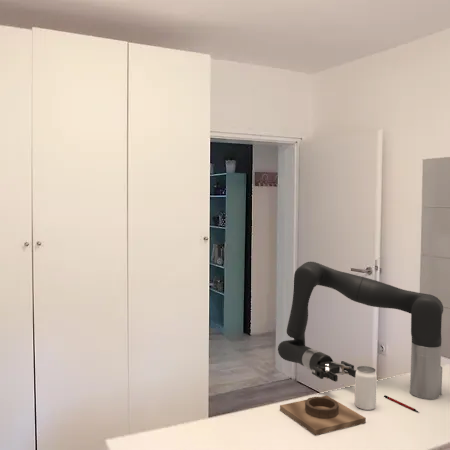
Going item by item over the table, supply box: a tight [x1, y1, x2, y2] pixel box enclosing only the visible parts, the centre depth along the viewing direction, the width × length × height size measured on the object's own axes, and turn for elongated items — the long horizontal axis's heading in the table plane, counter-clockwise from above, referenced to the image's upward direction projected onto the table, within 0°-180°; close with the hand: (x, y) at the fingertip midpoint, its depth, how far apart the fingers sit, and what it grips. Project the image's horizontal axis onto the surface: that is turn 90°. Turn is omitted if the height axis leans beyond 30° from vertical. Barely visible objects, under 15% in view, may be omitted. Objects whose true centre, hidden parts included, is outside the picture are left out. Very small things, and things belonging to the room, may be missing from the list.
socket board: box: [279, 395, 367, 436], centre depth 148 cm, size 18×18×4 cm
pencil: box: [383, 394, 419, 413], centre depth 158 cm, size 1×14×1 cm, turn 29°
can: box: [354, 365, 378, 411], centre depth 156 cm, size 6×6×12 cm
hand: (347, 376), depth 164 cm, fingers open, 8 cm apart
